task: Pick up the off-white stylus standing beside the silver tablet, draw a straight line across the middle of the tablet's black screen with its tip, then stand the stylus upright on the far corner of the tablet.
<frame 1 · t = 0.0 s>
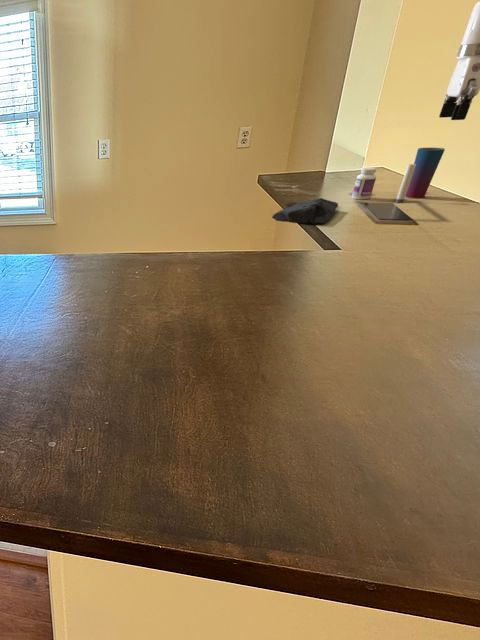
hand: (451, 118, 144), 24 cm above the countertop, tool pointing down, fingers open, 9 cm apart
pill bottle: (360, 198, 165), on the countertop
tablet: (397, 214, 145), on the countertop
stylus: (398, 203, 156), on the countertop
cup: (414, 197, 162), on the countertop
dark slate chunk: (307, 216, 151), on the countertop
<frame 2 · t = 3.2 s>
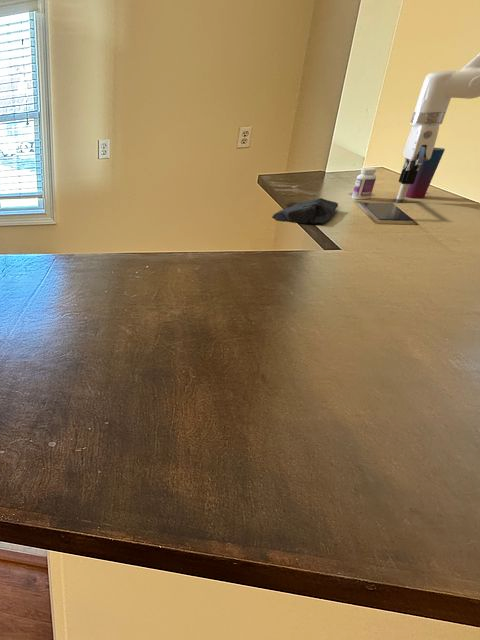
hand: (405, 182, 152), 7 cm above the countertop, tool pointing down, fingers closed on stylus, 2 cm apart
stylus: (398, 203, 156), on the countertop, touching gripper
everything else where it was.
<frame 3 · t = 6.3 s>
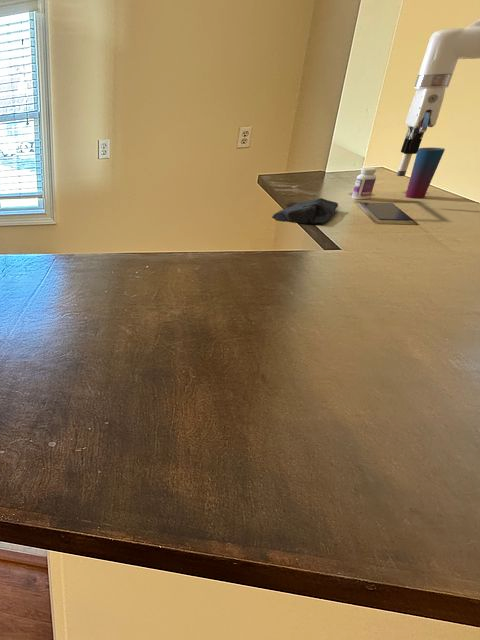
hand: (408, 152, 143), 17 cm above the countertop, tool pointing down, fingers closed on stylus
stylus: (400, 175, 146), point 10 cm above the countertop, touching gripper
everything else where it was.
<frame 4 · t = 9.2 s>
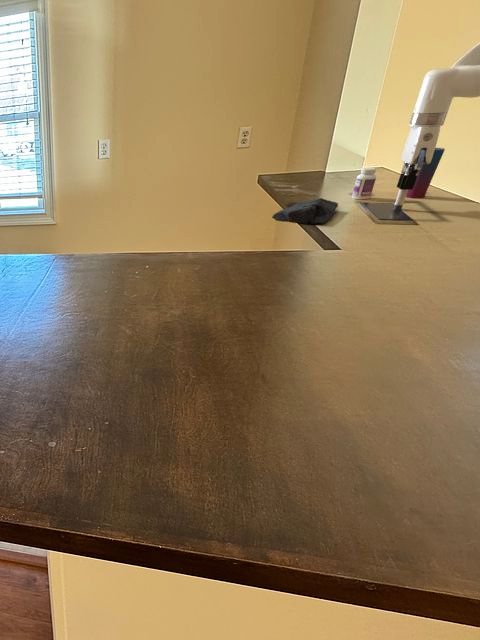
hand: (404, 188, 142), 7 cm above the countertop, tool pointing down, fingers closed on stylus, 2 cm apart
stylus: (397, 209, 145), point 1 cm above the countertop, touching gripper
everything else where it was.
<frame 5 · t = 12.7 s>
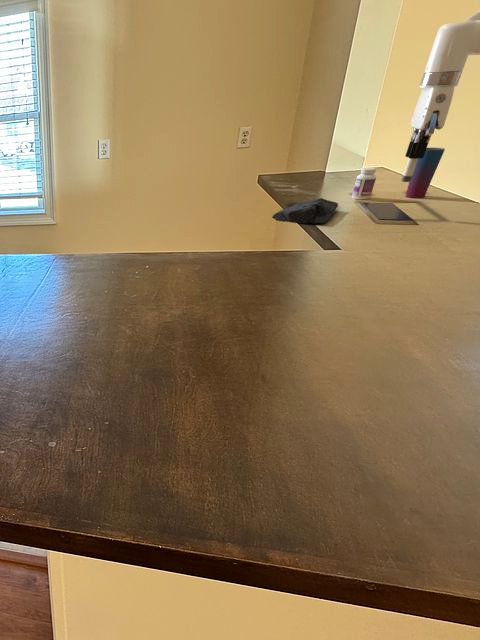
hand: (414, 157, 131), 17 cm above the countertop, tool pointing down, fingers closed on stylus
stylus: (405, 181, 134), point 11 cm above the countertop, touching gripper
everything else where it was.
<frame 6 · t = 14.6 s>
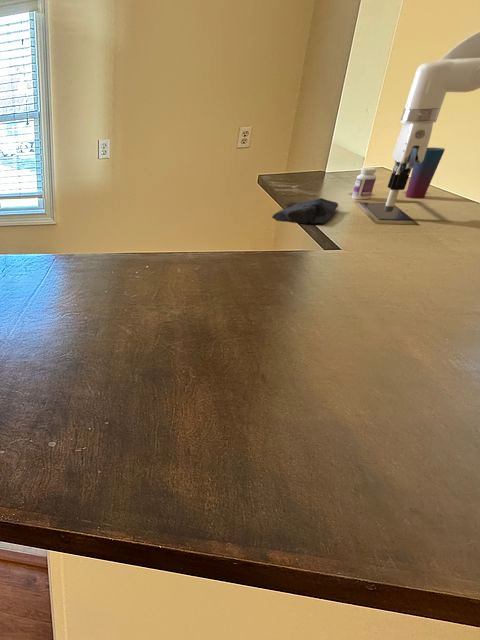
hand: (395, 188, 135), 9 cm above the countertop, tool pointing down, fingers closed on stylus, 2 cm apart
stylus: (388, 211, 138), point 3 cm above the countertop, touching gripper
everything else where it was.
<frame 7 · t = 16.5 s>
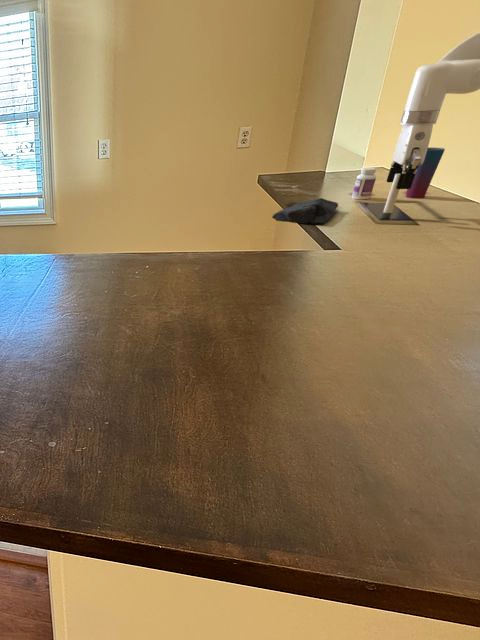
hand: (397, 185, 135), 10 cm above the countertop, tool pointing down, fingers open, 9 cm apart
stylus: (385, 217, 139), point 1 cm above the countertop, touching tablet
everything else where it was.
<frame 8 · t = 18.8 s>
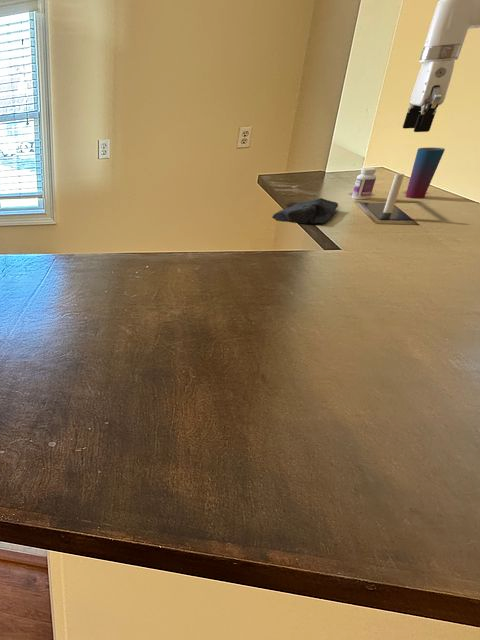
hand: (415, 129, 128), 24 cm above the countertop, tool pointing down, fingers open, 9 cm apart
nothing on the countertop moved.
at the end: stylus 0.1 cm from the target spot, point 1.1 cm above the countertop; stylus tilted 0°; stylus moved 25.8 cm from its start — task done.
